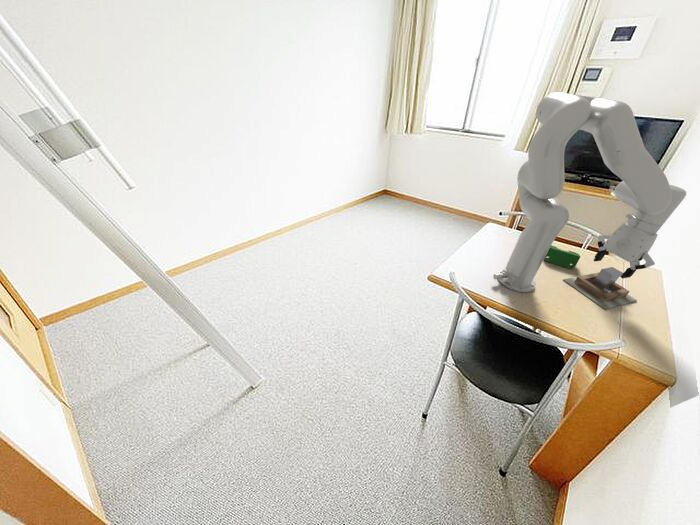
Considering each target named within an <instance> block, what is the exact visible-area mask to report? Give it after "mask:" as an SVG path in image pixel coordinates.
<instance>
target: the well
mask: <svg viewBox="0 0 700 525" xmlns="http://www.w3.org/2000/svg"><path fill="white" fill-rule="evenodd" d="M598 274H599V272H596V273H595V272H594V273H593V272H592V273H587V274H582V275H579V276H573V277H568V278H564V279H563V282H565V283H566V284H567V285H569V286H571V287H572V288H573V287H574V288H573V289H574V290H576V289H577V290H578V291H577V290H576V291H577V292H578V293H580V294H582V295H583V296H585V297H586V298H587V299H589V300H590V301H591V302H593V303H594V304H596V305H598V306H599V307H600V308H602V309H604V310H608V309H613V308H615V307H619V306H623V305H628V304H631V303H635V302H637V301H638V299H636V298H634V297H633V296H631V295H630V294H629V293H630V290H628V289H626V288H625V287H624V286H622V285H620V284H619V283H617V282H615V283H614V285H613V286H612V287H611V289H610V290H609V292H606V293H605V292H604V291H602V290H601V289H599V288H598V287H596V286H595V285H593V284H592V283H593V281H594V280H595V278H596V277H597V275H598Z"/></svg>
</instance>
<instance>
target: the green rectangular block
mask: <svg viewBox="0 0 700 525" xmlns="http://www.w3.org/2000/svg"><path fill="white" fill-rule="evenodd" d="M580 258H581V255H580V254H579V252H578V253H577V252H574V251H571V250H568V251H567V250H565V249H564V250H563V249H560V248H558V247H557V246H555V245H553V244H552V245H551V247H550V248H549V250H548V252H547V254H546V256H545V258H544V260H543V261H545V262H548V263H552V264H555V265H557V266H560V267H564V268H567V269H571V270H572V269H574V268H576V266H577V264H578V262H579V261H580Z"/></svg>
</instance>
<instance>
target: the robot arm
mask: <svg viewBox="0 0 700 525" xmlns="http://www.w3.org/2000/svg"><path fill="white" fill-rule="evenodd" d="M535 116H536V119H537V121H538V122H539V123H540V124H541V126H540V128H538V130H537V131H536V133H535V134H534V135H533V137H532V139H531V140H530V144H529V146H528V153H527V154H528V155H527V156H528V160H526V161H525V162H524V163H523V164H522V166H520V168H519V170H518V173H517V191H518V199H519V200H518V202H519V207H520V209H521V211H522V213H523V214H524V215H525V216H526V217H527V219H528V220H529V223H528V225H527V226H526V227H525V228H524V229H523V230H522V231H521V233H520V235H519V236H518V239H517V242H516V243H515V245H514V248H513V250H512V252H511V255H510V256H509V259H508V261H507V264H506V266H505V268H503V269H501V270H499V271H498V272H497V273H495V274H493V277H492V278H493V279H494V280H498V281H499V282H500V284H502V285H503V286H504V287H505V288H508V289H509V290H512V291H515V292H518V293H519V292H520V293H530V292H533V291H534V289H535V288H536V281H535V280H534V279H535V277H536V275H537V273H538V271H539V270H540V268H541V266H542V264H543V262H544V261H545V260H544V258H545V256H546V254H547V252H548V250H549V248H550V247H551V245H552V246H553V243H554V241H555V240H556V238H557V236H558V235H559V234H560V233H561V231H562V230H563V229H564V228H565V227H566V226H567V225H568V224H567V223H568V222H569V218H570V212H569V210H568V208H567V206H566V205H565V204H564V203H563V202H562V201H561V200H560V199H558V198H557V197H558V196H559V195H560V194H561V193H562V191H563V189H564V187H565V181H566V180H565V177H566V176H565V150H566V146H567V144H568V142H569V141H570V139H571V138H572V137H573V136H574V134H576V133H577V132H578V131H579V130H580V131H581V130H582V131H584V132H587V133H590V134H591V135H592V136H593V139H594V141H595V143H596V146H597V148H598V151H599V153H600V155H601V158H602V161H603V164H604V165H605V166H606V167H607V168H608V169H609V170H610V171H611V172H612V173H613V174H614V175H615V176H617V177H618V178H619V179H620V180H621V182H619V183H618V184H617V185H616V186H615V188H614V196H615V198H616V199H617V200H618V201H619V202H620V203H623V204H624V205H626V206H627V207H629V208H631V209H632V210H633V211H634V213H628V214H626V216H625V218H627V219H628V220H627V221H624V222H622V224H620V225H619V226H617V228H616V229H615V230H614V231H613V232H612V233H611V235H609V234H608V235H607V234H601V235H600V234H599V235H598V240H597V246H598V248H597V249H598V251H597V252H596V254H595V255H594V258H593V262H600V261H602V260H603V258H605V256H606V254H607V253H608V252H609V253H612V254H613V255H614V256H617V257H618V258H620V259H622V260H624V261H626V262H628V263H629V265H630V266H629V267H627V268H626V269H625V271H624V272H622V273H623V274H622V276H621V277H620V278H621V279H628V278H631V277H632V276H633V275H634V274H635V273H636V271H637V270H643V269H647V268H650V267H652V266H654V265H655V264H656V263H655V261H654V260H653V258H652V257H651V256H650V254H649V252H650V250H651V248H652V247H653V246H654V243H655V241H656V239H657V238H658V231H659V230H660V229H661V228H662V227H663V225H664V224H665V223H666V222H667V221H668V219H669V217H671V215H672V214H673V213H674V211H675V210H676V209H677V208H678V207H679V205H680V204H682V202H683V200H684V199H685V198H686V197H687V191H686V190H685V189H684V188H682V187H679V186H676V185H672V184H670V183H669V179H668V178H667V176H666V174H665V172H664V171H663V169H662V168H661V166H659V164H658V163H657V162H656V161H655V159H654V157H652V155H651V153H650V152H649V151H648V150H647V149H646V147H645V145H644V142H643V139H642V136H641V133H640V130H639V127H638V124H637V121H636V118H635V114H634V112H633V110H632V108H631V107H630V105H629V104H627V103H626V102H623V101H620V100H615V99H610V98H609V99H608V98H604V97H595V96H586V95H580V94H574V93H569V92H567V93H566V92H561V91H557V92H552V93H549V94H548V95H546V96H544V97H543V98H542V99H541V100H540V102H539V103H538V104H537V107H536V111H535ZM605 240H606V241H605ZM642 260H644V261H645V263H643V264H641V262H640V261H642Z"/></svg>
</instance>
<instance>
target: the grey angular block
mask: <svg viewBox="0 0 700 525" xmlns="http://www.w3.org/2000/svg"><path fill="white" fill-rule="evenodd" d="M598 273H599V274H598V275H597V277H596V278H595V280H594V281H593V283H592V284H593V285H595V286H596V287H598V288H599V289H601V290H602V291H604V292H605V293H606V292H609V290H610V289H611V287H612V286H613V285H614V283H617V281H618V279H619V278H621V276H622V274H623V273H624V272H622V271H620V270H619V269H617V268H616V267H614V266H609V267H604V268H601V269H600V270H599V272H598Z"/></svg>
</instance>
